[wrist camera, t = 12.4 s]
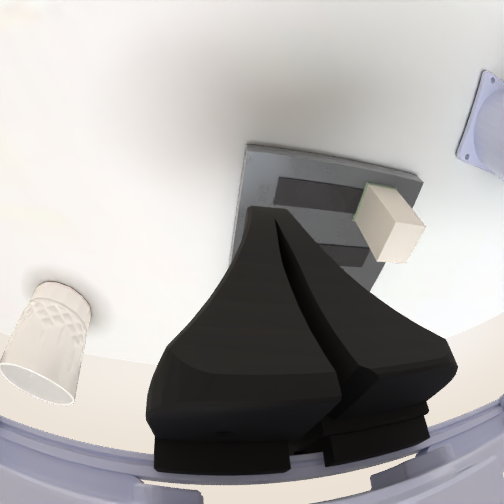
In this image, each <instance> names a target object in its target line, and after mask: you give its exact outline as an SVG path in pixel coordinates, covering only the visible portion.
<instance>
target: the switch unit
mask: <svg viewBox="0 0 504 504" xmlns="http://www.w3.org/2000/svg"><path fill="white" fill-rule="evenodd" d="M423 183H424V182H423V181H422V180H421V179H420V178H419V177H418V176H417V175H414V174H410V173H406V172H402V171H398V170H394V169H390V168H386V167H381V166H377V165H372V164H368V163H363V162H358V161H353V160H348V159H343V158H338V157H332V156H327V155H321V154H315V153H309V152H303V151H296V150H289V149H282V148H275V147H267V146H259V145H250V144H246V150H245V156H244V163H243V170H242V176H241V183H240V190H239V197H238V204H237V211H236V218H235V225H234V232H233V239H232V247H231V254H230V262H229V266H230V264H231V262H232V261H233V259H234V256H235V254H236V252H237V250H238V247H239V245H240V243H241V240H242V235H243V229H244V223H245V217H246V211H247V208H248V207H249V206H262V207H272V208H282V209H287V210H288V211H289V212H290V213H291V214H292V215H293V216H294V218H295V219H296V220H297V221H298V222H299V223H300V224H301V226H302V227H303V228H304V229H305V230H306V231H307V233H308V234H309V235H310V236H311V237H312V238H313V239H314V240H315V242H316V243H317V244H318V245H319V246H320V247H321V248H322V249H323V250H324V251H325V252H326V253H327V254H328V255H329V256H330V257H331V258H332V259H333V260H334V261H335V262H336V263H337V264H338V265H339V266H340V267H341V268H342V269H343V270H344V271H345V272H346V273H347V274H349V275H350V276H351V277H352V278H353V279H354V280H356V281H357V282H358V283H359V284H360V285H361V286H363V287H364V288H365V289H366V290H368V291H369V292H370V290H371V288H372V286H373V285H374V283H375V281H376V279H377V277H378V276H379V274H380V272H381V270H382V268H383V266H384V265H385V263H386V262H377V261H376V259H375V257H374V255H373V253H372V251H371V249H370V248H369V246H368V244H367V242H366V240H365V238H364V236H363V234H362V233H361V231H360V229H359V227H358V225H357V224H356V222H355V218H356V216H357V213H358V211H359V208H360V205H361V203H362V200H363V197H364V195H365V192H366V189H367V187H368V184H369V185H374V186H379V187H385V188H390V189H394V190H397V191H398V192H399V194H400V195H401V196H402V197H403V198H404V200H405V201H406V202H407V203H408V204H409V206H410V207H411V208H413V206H414V203H415V201H416V199H417V197H418V194H419V192H420V190H421V187H422V185H423Z"/></svg>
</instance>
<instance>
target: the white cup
mask: <svg viewBox="0 0 504 504" xmlns="http://www.w3.org/2000/svg"><path fill="white" fill-rule="evenodd" d="M90 318H91V311H90V306H89V305H88V303H87V302H86V301H85V299H84V298H83V297H82V296H81V295H80V294H79V293H77V292H76V291H75V290H73V289H72V288H70V287H68V286H66V285H63V284H60V283H58V282H45V283H43V284H41V285H39V286H38V287H37V289H36V291H35V292H34V294H33V296H32V298H31V300H30V302H29V304H28V305H27V307H26V308H25V309H24V311H23V313H22V315H21V317H20V319H19V321H18V322H17V324H16V326H15V329H14V331H13V333H12V335H11V337H10V340H9V342H8V344H7V346H6V349H5V351H4V353H3V356H2V358H1V360H0V372H1V374H2V375H3V376H4V377H5V378H6V379H7V380H8V381H9V382H10V383H12V384H13V385H14V386H16V387H17V388H19V389H20V390H22V391H24V392H25V393H27V394H29V395H31V396H33V397H35V398H38V399H40V400H43V401H46V402H49V403H52V404H57V405H65V406H66V405H72V404H74V402H75V395H76V390H77V384H78V378H79V373H80V368H81V363H82V358H83V351H84V347H85V343H86V333H87V330H88V326H89V322H90Z"/></svg>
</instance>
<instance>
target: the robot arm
mask: <svg viewBox="0 0 504 504" xmlns="http://www.w3.org/2000/svg"><path fill="white" fill-rule="evenodd" d="M491 78H492V80H491ZM466 154H467V155H466ZM465 156H466V157H465ZM457 157H458V158H459V159H460V160H461V161H464V162H467V163H469V164H472V165H474V166H476V167H479V168H481V169H483V170H486V171H488V172H490V173H493V174H495V175H497V176H499V177H500V178H501V179H502V180H503V181H504V82H503V81H502V80H500V79H499V78H498V77H496V76H495V75H494V74H492V73H491V72H489V71H484V72H483V74H482V77H481V81H480V85H479V88H478V92H477V95H476V99H475V102H474V105H473V108H472V111H471V114H470V117H469V120H468V123H467V126H466V129H465V132H464V135H463V137H462V140H461V143H460V146H459V148H458V151H457ZM457 369H458V366H457V363H456V361H455V359H454V356H453V354H452V352H451V349H450V347H449V345H448V343H447V341H446V339H444V338H442V337H440V336H438V335H436V334H435V333H433V332H431V331H429V330H427V329H425V328H423V327H421V326H420V325H418V324H416V323H414V322H413V321H411V320H410V319H408V318H406V317H405V316H403V315H402V314H400V313H398V312H397V311H395V310H394V309H392V308H391V307H389V306H388V305H387V304H385V303H384V302H382V301H381V300H380V299H378V298H377V297H376V296H374V295H373V294H372V293H370V292H369V291H368V290H366V289H365V288H364V287H363V286H361V285H360V284H359V283H358V282H357V281H356V280H354V279H353V278H352V277H351V276H350V275H349V274H347V273H346V272H345V271H344V270H343V269H342V268H341V267H340V266H339V265H338V264H337V263H336V262H335V261H334V260H333V259H332V258H331V257H330V256H329V255H328V254H327V253H326V252H325V251H324V250H323V249H322V248H321V247H320V246H319V245H318V244H317V243H316V242H315V240H314V239H313V238H312V237H311V236H310V235H309V234H308V233H307V231H306V230H305V229H304V228H303V227H302V226H301V224H300V223H299V222H298V221H297V220H296V219H295V218H294V216H293V215H292V214H291V213H290V212H289V211H288V210H287V209H282V208H272V207H262V206H249V207H248V208H247V211H246V217H245V223H244V229H243V235H242V240H241V243H240V245H239V247H238V250H237V252H236V254H235V256H234V259H233V261H232V262H231V264H230V266H229V268H228V270H227V272H226V273H225V275H224V277H223V278H222V280H221V282H220V283H219V285H218V286H217V288H216V289H215V291H214V292H213V294H212V295H211V296H210V298H209V299H208V300H207V302H206V303H205V304H204V305H203V307H202V308H201V309H200V310H199V312H198V313H197V314H196V315H195V317H194V318H193V319H192V320H191V321H190V323H189V324H188V325H187V326H186V327H185V328H184V329H183V330H182V331H181V332H180V333H179V334H178V335H177V336H176V337H175V338H174V339H173V340H172V341H171V342H170V344H169V345H168V346H167V347H166V349H165V351H164V353H163V355H162V357H161V359H160V361H159V363H158V365H157V368H156V370H155V372H154V375H153V377H152V380H151V384H150V387H149V391H148V396H147V406H146V421H147V423H148V424H149V426H150V428H151V430H152V432H153V434H154V435H155V445H154V454H145V453H138V452H131V451H125V450H119V449H113V448H108V447H103V446H98V445H93V444H89V443H85V442H80V441H76V440H73V439H69V438H65V437H61V436H58V435H54V434H51V433H48V432H44V431H41V430H38V429H35V428H32V427H29V426H26V425H24V424H21V423H18V422H15V421H13V420H10V419H7V418H5V417H3V416H0V504H203V496H202V495H201V493H200V492H199V491H198V490H188V489H179V488H171V487H164V486H157V485H149V484H144V482H143V481H141V480H140V479H143V480H151V481H159V482H168V483H180V484H198V485H250V484H268V483H280V482H289V481H298V480H306V479H312V478H319V477H324V476H331V475H336V474H341V473H346V472H351V471H355V470H359V469H363V468H368V467H372V466H376V465H379V464H383V463H386V462H390V461H393V460H397V459H400V458H403V457H406V456H409V455H412V454H415V453H417V454H416V456H415V458H413V459H410V460H408V461H405V462H403V463H401V464H399V465H397V466H395V467H393V468H390V469H388V470H385V471H382V472H379V473H377V474H374V475H371V477H370V480H371V486H372V488H371V490H370V491H366V492H363V493H359V494H355V495H351V496H347V497H342V498H338V499H333V500H329V501H323V502H318V503H312V504H504V478H503V472H504V394H503V395H502V396H501V397H500V398H499V399H497V400H495V401H493V402H491V403H489V404H487V405H484V406H482V407H480V408H478V409H475V410H473V411H471V412H469V413H466V414H464V415H461V416H458V417H456V418H453V419H450V420H448V421H445V422H442V423H439V424H436V425H434V426H431V427H427V425H426V421H425V418H424V415H426V414H427V413H428V412H429V409H428V406H427V402H426V401H427V400H428V399H430V398H431V397H432V396H433V395H435V394H436V393H437V392H439V391H440V390H441V389H442V388H444V387H445V386H446V385H447V384H448V383H449V382H450V381H451V380H452V378H453V377H454V376H455V375H456V372H457Z"/></svg>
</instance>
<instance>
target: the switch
mask: <svg viewBox="0 0 504 504" xmlns="http://www.w3.org/2000/svg"><path fill="white" fill-rule="evenodd" d="M355 222H356V224H357V225H358V227H359V229H360V231H361V233H362V234H363V236H364V238H365V240H366V242H367V244H368V246H369V248H370V249H371V251H372V253H373V255H374V257H375V259H376V261H377V262H392V263H407V261H408V259H409V258H410V256H411V254H412V252H413V250H414V249H415V247H416V245H417V243H418V241H419V239H420V237H421V235H422V234H423V232H424V230H425V228H426V226H425V225H424V223H423V222H422V221H421V219H420V218H419V217H418V216H417V214H416V213H415V212H414V211H413V209H412V208H411V207H410V206H409V204H408V203H407V202H406V201H405V200H404V198H403V197H402V196H401V195H400V194H399V192H398V191H397V190H394V189H390V188H385V187H379V186H374V185H369V184H368V187H367V189H366V192H365V195H364V197H363V200H362V203H361V205H360V208H359V211H358V213H357V216H356V218H355Z"/></svg>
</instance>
